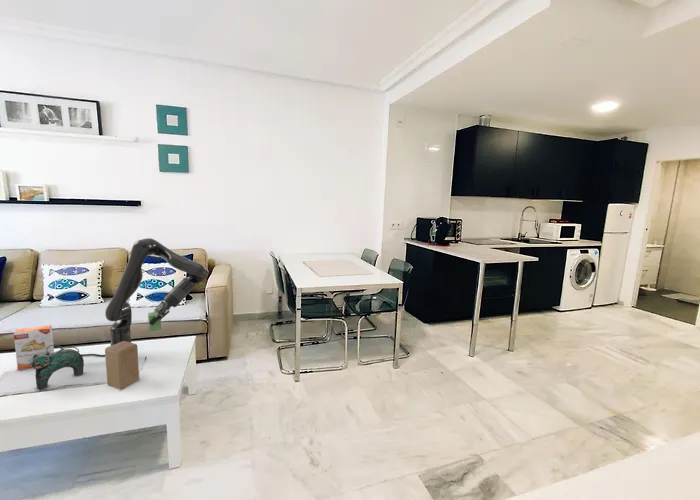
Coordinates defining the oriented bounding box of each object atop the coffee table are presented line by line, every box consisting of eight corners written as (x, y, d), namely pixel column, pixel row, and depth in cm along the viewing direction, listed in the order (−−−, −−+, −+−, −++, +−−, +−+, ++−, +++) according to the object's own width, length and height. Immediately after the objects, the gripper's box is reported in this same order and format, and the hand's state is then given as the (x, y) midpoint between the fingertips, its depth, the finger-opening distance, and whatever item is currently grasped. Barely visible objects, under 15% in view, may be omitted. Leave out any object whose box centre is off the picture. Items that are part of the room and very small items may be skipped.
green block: (148, 327, 167) (148, 312, 166) (160, 326, 170) (159, 311, 169) (149, 331, 163) (148, 316, 162) (161, 329, 166) (160, 314, 165)
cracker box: (17, 371, 171) (12, 333, 168) (20, 365, 176) (16, 328, 173) (53, 364, 179) (49, 328, 176) (55, 359, 184) (51, 324, 181)
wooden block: (140, 380, 169) (138, 343, 166) (121, 390, 159) (118, 352, 156) (126, 375, 172) (123, 339, 169) (106, 385, 163) (103, 348, 159)
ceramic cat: (35, 392, 155) (31, 353, 151) (30, 388, 158) (26, 349, 155) (86, 374, 171) (83, 338, 168) (80, 370, 175) (77, 335, 171)
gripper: (168, 288, 174) (142, 313, 169) (172, 295, 162) (144, 323, 157) (179, 296, 178) (155, 321, 173) (184, 304, 166) (158, 331, 161)
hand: (150, 322), depth 165 cm, fingers closed on green block, 5 cm apart
